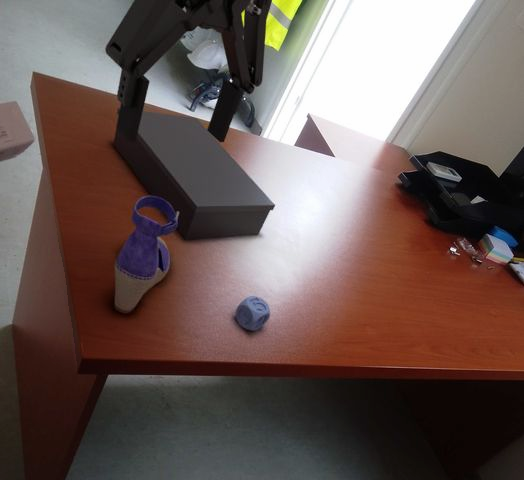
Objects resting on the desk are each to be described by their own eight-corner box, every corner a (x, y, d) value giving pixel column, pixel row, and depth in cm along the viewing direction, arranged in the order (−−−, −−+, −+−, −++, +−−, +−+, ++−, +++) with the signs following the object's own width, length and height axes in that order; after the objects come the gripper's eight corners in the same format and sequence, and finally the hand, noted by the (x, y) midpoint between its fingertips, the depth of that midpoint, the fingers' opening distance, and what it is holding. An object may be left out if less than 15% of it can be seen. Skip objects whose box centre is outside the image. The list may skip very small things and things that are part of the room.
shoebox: (111, 143, 93) (117, 107, 88) (187, 149, 105) (196, 118, 100) (184, 241, 82) (197, 206, 77) (260, 235, 94) (275, 205, 89)
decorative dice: (248, 310, 77) (258, 293, 74) (264, 326, 75) (274, 310, 73) (232, 316, 74) (241, 298, 71) (247, 333, 73) (257, 316, 70)
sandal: (181, 254, 79) (209, 178, 69) (136, 324, 64) (164, 240, 54) (137, 232, 78) (159, 152, 68) (81, 299, 63) (99, 208, 53)
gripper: (147, -130, 31) (97, 155, 45) (342, -32, 48) (262, 152, 62) (89, -172, 33) (58, 112, 47) (295, -64, 50) (228, 121, 65)
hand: (174, 135), depth 55 cm, fingers open, 13 cm apart
